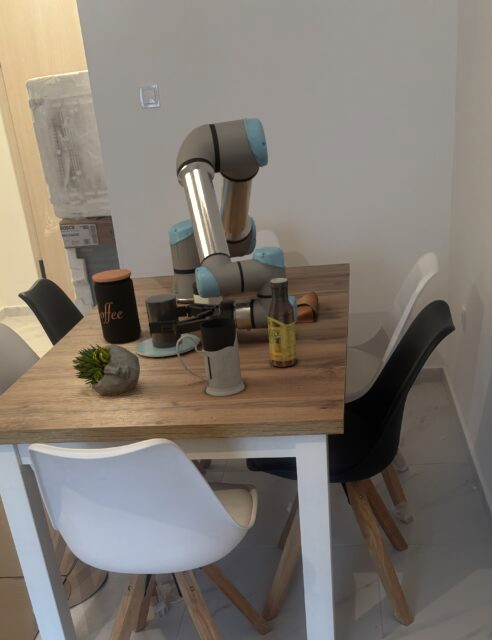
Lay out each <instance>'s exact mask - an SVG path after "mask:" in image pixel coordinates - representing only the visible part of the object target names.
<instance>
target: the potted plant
mask: <svg viewBox="0 0 492 640" xmlns="http://www.w3.org/2000/svg"><path fill="white" fill-rule="evenodd" d="M89 346H90V347H91V348H90V347H86V348H85V347H82V349H80V350H78V352H77V353H76V354H78V355H80V356H74V359H73V360H71V362H72V363H73V364H72V367H73V368H72V369H73V370H75V371H77V372H74V373H73V374H75V375H74V377H76V379H81V380H85V381H84V385H89V386H91V389H92V390H93V391H94V392H96V393H97V394H98V395H100V396H102V397H103V396H112V395H117V394H122V393H124V392H127V391H130V390H133V389H135V388H136V386H137V385H138V382H139V380H140V374H141V367H140V366H141V365H140V359H139V357H138V356H137V355H136V354H135V353H134V352H132V351H130V350H129V349H127V348H126V347H124V346H120V345H118V344H108V345H105V346H101V345H98V344H97V343H95V346H93V345H92V344H90V343H89Z"/></svg>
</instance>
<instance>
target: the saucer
mask: <svg viewBox="0 0 492 640" xmlns="http://www.w3.org/2000/svg"><path fill="white" fill-rule="evenodd" d="M183 336H190V337H192V338H193V339H194V340H195V342H196V345H197V347H198V346H199V345H200V341H201V339H200V338H199V337H198V336H197V335H194V334H191V333H185V334H182V337H183ZM178 350H179V354H183V353H187V352H189V351H192V350H195V346H194V342H193V341H192V340H191V339H190V338H183V339H182V343H181V344H180V345H178ZM135 352H136V353H137V354H138V355H140V356H143V357H150V358H160V357H170V356H176V355H177V350H176V346H175V347H171V348H155V347H153V345H152V339H151V337H150V338H147V339H145V340H142V341H141V342H139V343H138V344H137V345H136V346H135Z"/></svg>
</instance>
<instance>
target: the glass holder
mask: <svg viewBox="0 0 492 640" xmlns="http://www.w3.org/2000/svg"><path fill="white" fill-rule="evenodd" d="M200 328H201V331H200V335H201V342H202V350H198V346H197V345H196V342H195V340H194V339H193V338H192V337H190V336H183V337H181V338H180V339H179V340H178V341H177V344H176V350H177V354H176V355H177V358H178V360H179V362H180V364H181V365H182V367H183V368H184V369H185V370H186V371H187V372H189V373H190V374H191V375H194V376H196V377H198V378H199V379H201V380H203V381H204V382H205V386H206V389H205V393H206V394H208V395H210V396H214V397H226V396H227V397H228V396H231V395H235V394H238V393H240V392H242V391H243V390H245V388H246V387H245V384H244V382H243V378H242V368H241V360H240V350H239V342H238V333H237V329H235V321H234V320H233V319H230V318H216V319H211V320H207V321H205V322H202V323H201V324H200ZM183 338H190V339H191V340H192V341H193V342H194V346H195V348H194V351H195V352H196V353H197V354H202V356H203V364H204V373H205V378H204V377H203V376H201V375H199V374H197V373H195V372H194V371H192V370H191V369H189V368H188V367H187V366H186V365H185V363H184V361H183V360H182V357H181V355H180V354H181V353H180V354H179V350H178V345H179V342H180V341H181V340H182V339H183Z"/></svg>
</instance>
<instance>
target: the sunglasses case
mask: <svg viewBox="0 0 492 640" xmlns="http://www.w3.org/2000/svg"><path fill="white" fill-rule="evenodd" d="M296 304H297V321H296V324H306V323H314V322H315V321H316V320H317V319H318V311H319V297H318V294H317V293H316V292H315V291H309V292H308V293H306V294H304V295H303V296H301V297H300V298H299V299H298V300H296Z"/></svg>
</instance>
